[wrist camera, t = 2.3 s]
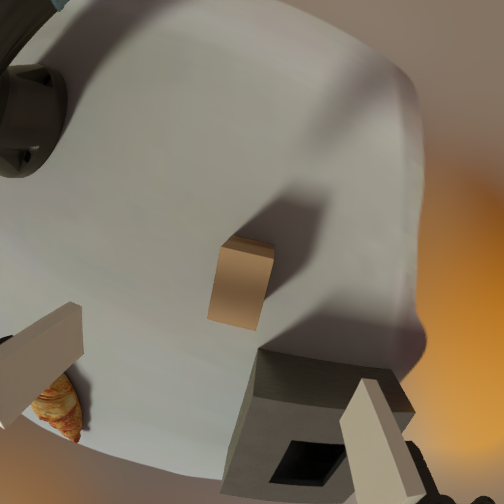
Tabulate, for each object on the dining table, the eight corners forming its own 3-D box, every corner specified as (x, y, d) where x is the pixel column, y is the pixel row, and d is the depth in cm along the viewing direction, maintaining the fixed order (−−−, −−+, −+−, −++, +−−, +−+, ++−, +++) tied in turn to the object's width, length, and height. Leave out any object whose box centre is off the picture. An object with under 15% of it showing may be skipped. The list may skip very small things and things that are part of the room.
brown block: (232, 235, 27) (220, 246, 21) (274, 244, 27) (274, 259, 21) (220, 294, 29) (206, 319, 23) (259, 303, 28) (255, 330, 23)
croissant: (40, 317, 36) (-1, 330, 29) (59, 333, 30) (9, 352, 24) (79, 420, 39) (47, 437, 33) (106, 448, 34) (70, 468, 27)
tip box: (258, 348, 29) (252, 396, 22) (391, 370, 29) (415, 412, 21) (228, 449, 33) (219, 492, 25) (335, 462, 33) (342, 503, 25)
